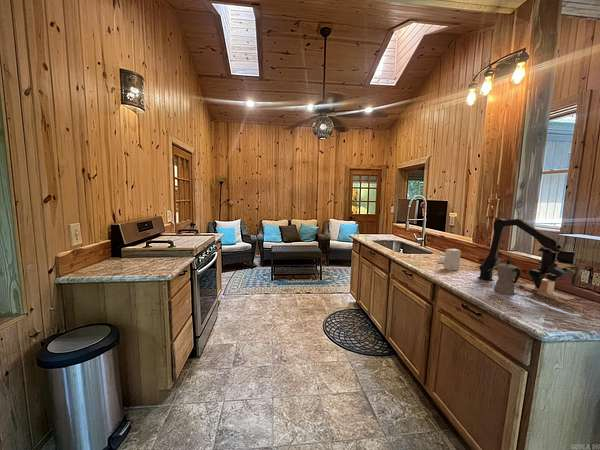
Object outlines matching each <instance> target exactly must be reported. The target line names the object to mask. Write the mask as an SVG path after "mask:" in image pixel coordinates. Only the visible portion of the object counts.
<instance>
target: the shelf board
mask: <svg viewBox="0 0 600 450" xmlns="http://www.w3.org/2000/svg"><path fill="white" fill-rule="evenodd" d="M534 286H535V284H531V283H527V284H522V283H521V284H520V283H517V282H516V283H514V287H516V288H519V289H523V290H526V291H529V292H532V293H533V294H534V293H535V294H537V295H540V296H543V297H546V298H550V299H552V300H554V301H556V300H557V301H558V300H570V299H573V300H574V297H572V296H569V295H567V294H564V293H560V292H557V291H555V290H554V291H553V294H549V293H546V292H543V291H540V290H537V289H534Z"/></svg>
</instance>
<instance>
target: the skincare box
mask: <svg viewBox="0 0 600 450" xmlns="http://www.w3.org/2000/svg"><path fill="white" fill-rule="evenodd" d="M461 254H462V250H460V249H457V248H446V249H445V254H444V257H445V262H444V263H443V269H445V270H447V271H448V272H449V271H459V270H460V262H461Z"/></svg>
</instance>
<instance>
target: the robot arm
mask: <svg viewBox="0 0 600 450" xmlns="http://www.w3.org/2000/svg"><path fill="white" fill-rule="evenodd" d="M510 226H516V227H518V228H520V229H521V230H522V231H524V232H525V233H526V234H528V235H530V236H532V237H533V238H534V239H536V240H537V241H538V242H539V244H540V245H542V247H540V248H538V249H537V251H538V252H541V260H539V261H538V263H539V264H540V266H539V267H538V268H537V269H535V268H534V269H529V270H528V271H527V275H529V276H530V277H531V279H532V282H533V283H534V285H535V286H536V288H539V287H540V284H541V281H542V279H545V276H546V277H547V278H546V279H548V280H551V281H555V282H557V280H559V279H560V278H561V279H562V278H563V279H564V278H566V276H568V275H570V274H569V273H570V269H569V268H567V267H559V265H558V263H556V261H558V262H559V263H561V264H566V265H572V266H575V264H576V263H577V262H576V261H577V251H568V250H564V248H563V247H562V246H561V245H560V240H559V239H558V238H556V237H554V236H551V235H548V234H546V233H543V232H542V231H540V230H539V229H537V228H535V227H534V226H533V225H531V224H529V223H527V222H526V221H524V220H523V219H522V218H514V219H506V218H498V219H496V220H494V221H493V227H492V228H493V237H492V240H491V245H490V249H489V254H488V255H487V256H486V258H485V260H484V262H483V263H482V264H481V265H479V266H478V269H479V270H480V273H479V276H477V277H476V278H478V279H480V280H483V281H486V282H488V281H490V282H491V281H494V280H495V279H493V273H494V270H495V268H496V269H497V264H501V263H500V262H501V260H502V259H501V258H499V252H500V248H501V244H502V240H503V236H504V233H505V232H506V231H507V229H508V227H510Z"/></svg>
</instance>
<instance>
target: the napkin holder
mask: <svg viewBox="0 0 600 450" xmlns="http://www.w3.org/2000/svg"><path fill="white" fill-rule="evenodd" d="M444 262H445V256H439V257H438V263H439V264H444Z"/></svg>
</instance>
